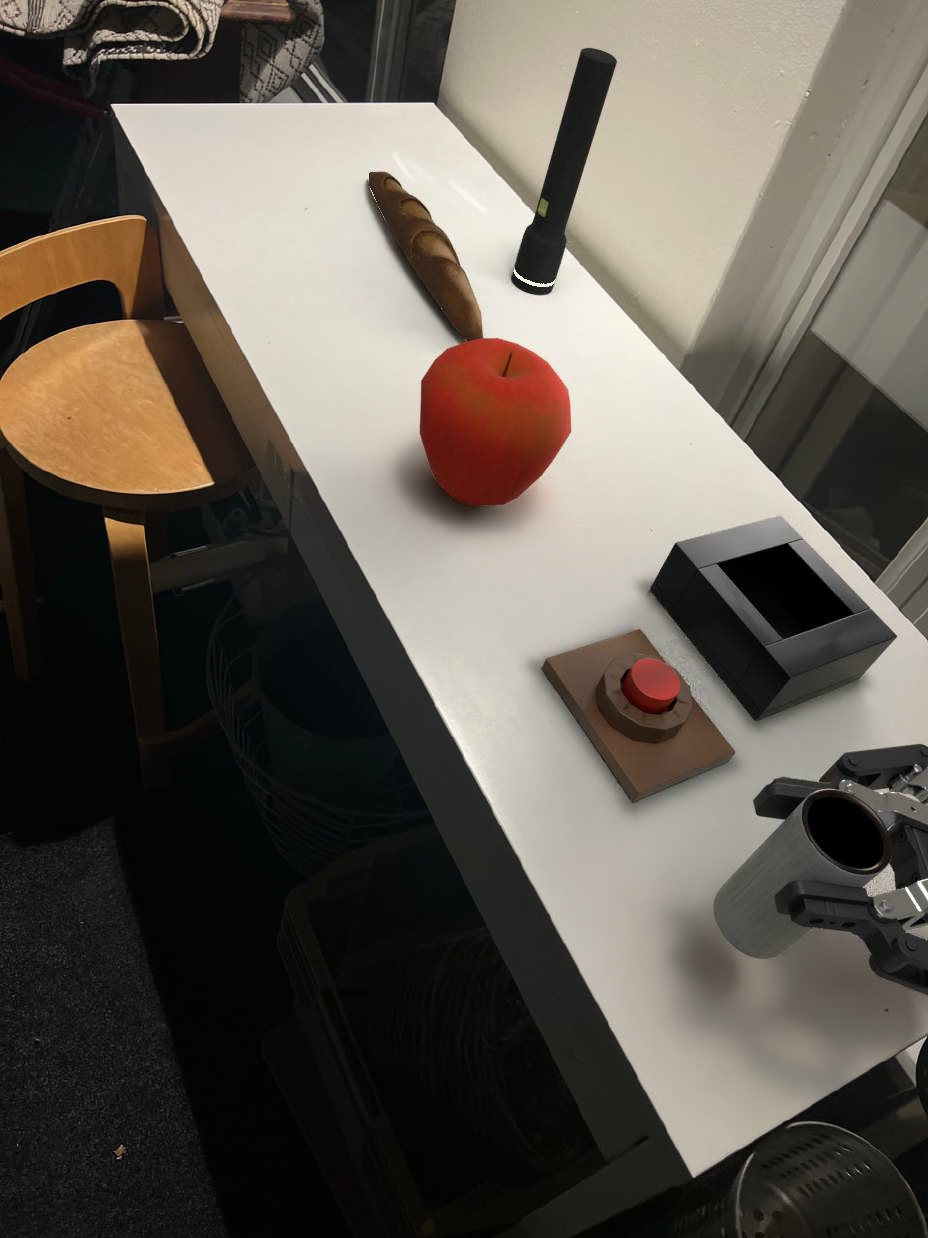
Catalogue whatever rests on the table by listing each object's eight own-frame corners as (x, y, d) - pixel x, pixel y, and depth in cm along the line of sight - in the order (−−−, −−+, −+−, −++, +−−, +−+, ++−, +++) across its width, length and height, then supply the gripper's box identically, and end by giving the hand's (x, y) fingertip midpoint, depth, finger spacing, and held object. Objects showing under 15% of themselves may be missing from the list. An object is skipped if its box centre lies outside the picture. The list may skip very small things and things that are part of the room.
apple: (566, 509, 79) (621, 374, 69) (467, 558, 73) (513, 417, 62) (473, 428, 84) (512, 291, 74) (373, 467, 77) (400, 322, 67)
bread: (502, 360, 93) (514, 316, 89) (458, 361, 91) (469, 317, 87) (386, 180, 114) (392, 139, 110) (348, 178, 112) (353, 137, 108)
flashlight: (534, 268, 107) (502, 274, 105) (600, 43, 90) (564, 43, 87) (561, 291, 105) (529, 297, 102) (634, 64, 87) (598, 65, 85)
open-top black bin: (859, 678, 73) (898, 636, 69) (755, 721, 68) (790, 677, 64) (751, 559, 80) (780, 514, 76) (649, 589, 75) (674, 542, 71)
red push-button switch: (729, 761, 65) (747, 738, 63) (632, 802, 61) (649, 779, 59) (634, 637, 71) (648, 613, 69) (541, 667, 67) (552, 642, 65)
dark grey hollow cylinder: (710, 872, 51) (797, 777, 44) (786, 891, 52) (885, 800, 44) (713, 949, 48) (807, 861, 41) (793, 969, 49) (901, 885, 41)
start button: (680, 705, 64) (690, 691, 63) (641, 720, 62) (651, 706, 61) (651, 667, 66) (660, 652, 64) (612, 680, 64) (621, 665, 63)
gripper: (1071, 729, 48) (775, 682, 46) (1215, 1005, 39) (851, 964, 36) (982, 800, 54) (714, 762, 51) (1089, 1057, 44) (765, 1025, 42)
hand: (773, 846), depth 44 cm, fingers closed on dark grey hollow cylinder, 4 cm apart
